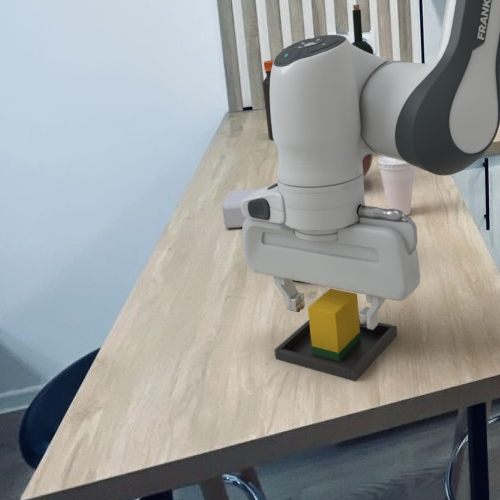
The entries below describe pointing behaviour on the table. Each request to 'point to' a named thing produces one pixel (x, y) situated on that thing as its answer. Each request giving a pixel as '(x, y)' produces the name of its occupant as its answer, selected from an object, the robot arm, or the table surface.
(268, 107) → the vinegar
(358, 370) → the square tray
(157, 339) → the table surface
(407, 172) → the smoothie
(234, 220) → the charger
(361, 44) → the wine bottle
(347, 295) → the sponge
